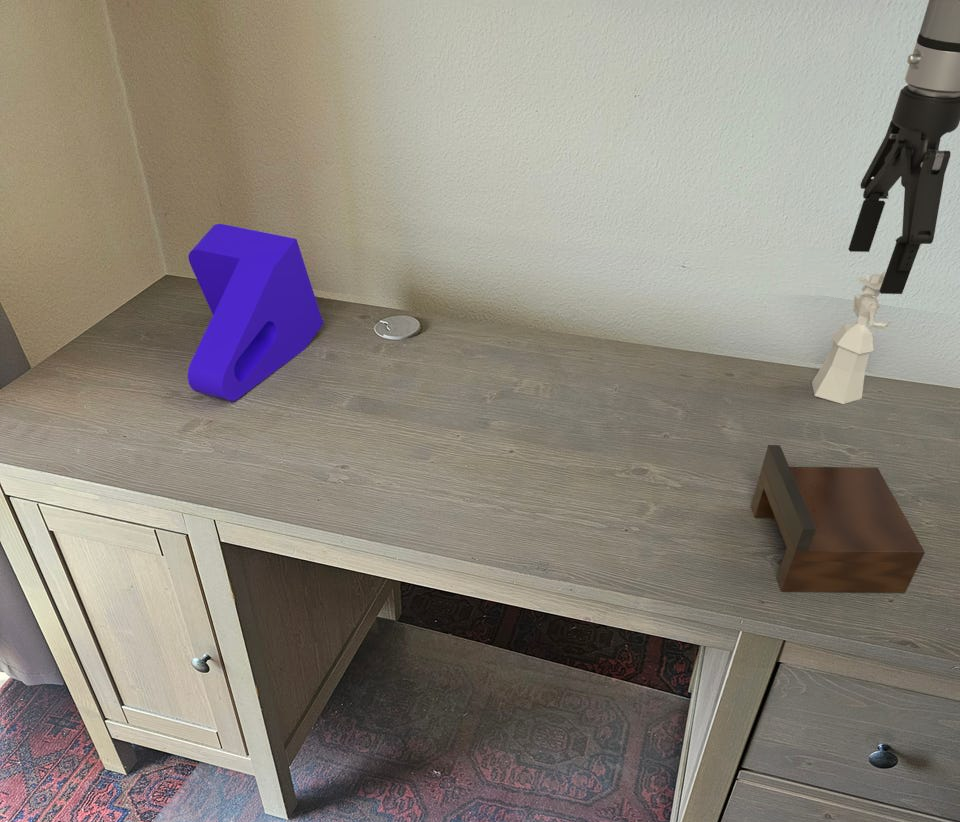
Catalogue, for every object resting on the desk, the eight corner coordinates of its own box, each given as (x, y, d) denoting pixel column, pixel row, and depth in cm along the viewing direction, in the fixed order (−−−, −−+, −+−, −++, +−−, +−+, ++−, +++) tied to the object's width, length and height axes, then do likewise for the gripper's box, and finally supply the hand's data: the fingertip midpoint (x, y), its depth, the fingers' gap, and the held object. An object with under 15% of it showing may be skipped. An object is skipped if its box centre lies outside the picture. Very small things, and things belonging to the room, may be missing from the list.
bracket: (323, 323, 139) (239, 304, 143) (296, 238, 126) (205, 220, 130) (242, 433, 128) (155, 408, 133) (204, 353, 115) (108, 328, 120)
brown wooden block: (861, 507, 108) (886, 445, 102) (905, 593, 97) (936, 530, 90) (750, 506, 108) (768, 444, 102) (781, 592, 97) (803, 528, 90)
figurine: (872, 394, 128) (917, 273, 115) (832, 408, 125) (874, 284, 112) (837, 374, 132) (877, 254, 119) (798, 386, 129) (834, 265, 116)
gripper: (870, 61, 109) (820, 234, 125) (943, 119, 92) (875, 311, 107) (929, 63, 109) (872, 235, 125) (1013, 120, 92) (935, 312, 107)
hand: (873, 271), depth 116 cm, fingers open, 13 cm apart
